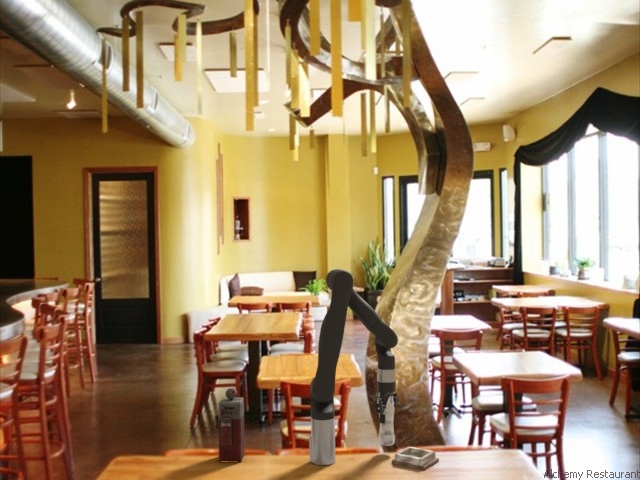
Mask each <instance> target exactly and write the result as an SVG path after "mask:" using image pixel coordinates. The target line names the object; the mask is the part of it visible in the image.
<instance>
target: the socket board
mask: <svg viewBox="0 0 640 480" xmlns="http://www.w3.org/2000/svg"><path fill="white" fill-rule="evenodd" d="M438 462H440V458H438V457H436V450H435V451H434V450H430V449H424V448H418V447H414V446H407V447H405V448H404V449H402V450H400V451H398V452H396V453H395V454H394V458H393V459H392V460H391V464H393V465H397V466H402V467H405V468H411V469H416V470H421V471H426V470H428V469H430V468H431V467H433V466H434V465H436V464H437V463H438Z"/></svg>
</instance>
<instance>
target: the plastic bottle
mask: <svg viewBox="0 0 640 480" xmlns="http://www.w3.org/2000/svg"><path fill="white" fill-rule="evenodd" d="M387 397H390V401H389V403H388V407H387V409H386V411H385V423H384V424H382V423H380V422H379V433H378V443H379V445H381V446H385V447H386V446H387V447H389V446H393V445H394V444H395V443H396V435H395V431H394V430H395V429H394V418H395V417H394V416H395V409H394V406H393V404H392V403H391V395H390V396H387ZM382 406H385V405H382ZM378 409H379V408H378ZM383 409H384V408H383ZM378 416H379V419H380V414H379V413H378Z"/></svg>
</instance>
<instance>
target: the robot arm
mask: <svg viewBox="0 0 640 480" xmlns="http://www.w3.org/2000/svg"><path fill="white" fill-rule="evenodd" d="M325 277H326V278H325V284H326V286H327V288H328V289H329V290H330V291H331V298H330V303H329V307H328V310H327V311H326V313H325V315H324V317H323V320H322V323H321V326H320V331H319V337H318V347H317V348H318V349H317V350H318V351H317V368H316V372H315V376H314V377H313V379H312V380H311V382H310V387H309V389H310V390H309V395H310V396H309V398H310V421H311V422H310V425H311V427H310V431H311V432H310V433H311V435H310V436H309V438H308V439H309V440H308V444H309V445H308V447H309V449H308V450H309V462H311V463H312V464H314V465H317V466H329V465H334V464H335V462H336V424H335V423H336V422H335V421H336V420H335V418H336V417H335V401H334V400H335V399H334V398H335V397H334V395H335V390H336V374H337V365H338V363H339V360H340V359H339V358H340V355H341V350H342V345H343V340H344V335H345V327H346V320H347V315H348V308H349V309H350V310H351V311H352V312H353V314H354V315H355V316H356V317H357V319H358V320H359V321H360V322H361V324H362V325H363V326H364V328H365V329H366V330H367V331H369V332H370V333H372V334H373V335H375V336H374V347H375V352H376V356H377V372H376V390H377V392H378V393H379V397H378V398H376V397H375V399H374V403H375V412H376V414H378V415H379V414H380V418H379V424H380V423H382V424H384V423H385V411H386V409H387V407H388V403H389V401H390V397H387V396H390V395H391V403H392V404H393V406H394V410H395V409H396V408H397V406H398V393H397V392H396V391H397V380H396V379H397V373H396V357H395V355H394V354H393V352H392V349H393V348H396V346H397V345H398V342H399V338H398V335H397V334H396V332H395V331H394V330H393V328H391V327H390V326H389V324H387V323H386V322H384V320H382V318H381V316H379V314H378V313H377V311H376V310H375V309H374V308H373V307H372V306H371V305H370V304H369V303H368V302H367V301H366V300H364V299H363V298H362V297H361V296H360V294H358V293H357V292H356V290H355V289H354V283H355V282H354V281H355V280H354V276H353V275H352V273H351V272H349V271H348V270H344V269H339V268H335V269H332V270H330V271H329V272H327V275H325ZM382 405H385V406H382ZM378 408H379V409H378ZM383 408H384V409H383Z"/></svg>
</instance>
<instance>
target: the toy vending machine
mask: <svg viewBox="0 0 640 480" xmlns="http://www.w3.org/2000/svg"><path fill="white" fill-rule="evenodd" d="M237 394H238V392H237V389H236V388H234V387H228V388H227V389H226V391H225V397H222V398H221V399H220V400H219V402H218V403H217V405H218V406H217V410H218V412H217V413H218V417H217V418H218V462H219V461H242V462H243V460H244V458H243V457H245V399H244V397H243V396H242V397H241V396H240V397H239V396H238V397H237ZM242 459H243V460H242Z"/></svg>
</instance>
